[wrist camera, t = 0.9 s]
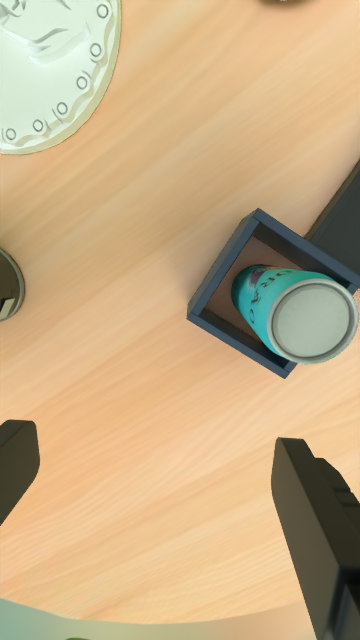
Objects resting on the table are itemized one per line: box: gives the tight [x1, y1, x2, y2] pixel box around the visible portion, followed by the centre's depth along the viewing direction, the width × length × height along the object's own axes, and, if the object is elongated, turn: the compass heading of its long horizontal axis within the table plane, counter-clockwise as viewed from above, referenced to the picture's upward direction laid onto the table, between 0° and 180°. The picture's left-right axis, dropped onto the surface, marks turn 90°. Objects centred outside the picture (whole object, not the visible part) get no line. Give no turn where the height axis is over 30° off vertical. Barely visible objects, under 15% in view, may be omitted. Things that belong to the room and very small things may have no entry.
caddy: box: [187, 208, 360, 379], centre depth 26 cm, size 11×11×7 cm
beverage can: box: [231, 264, 359, 364], centre depth 22 cm, size 6×6×15 cm
